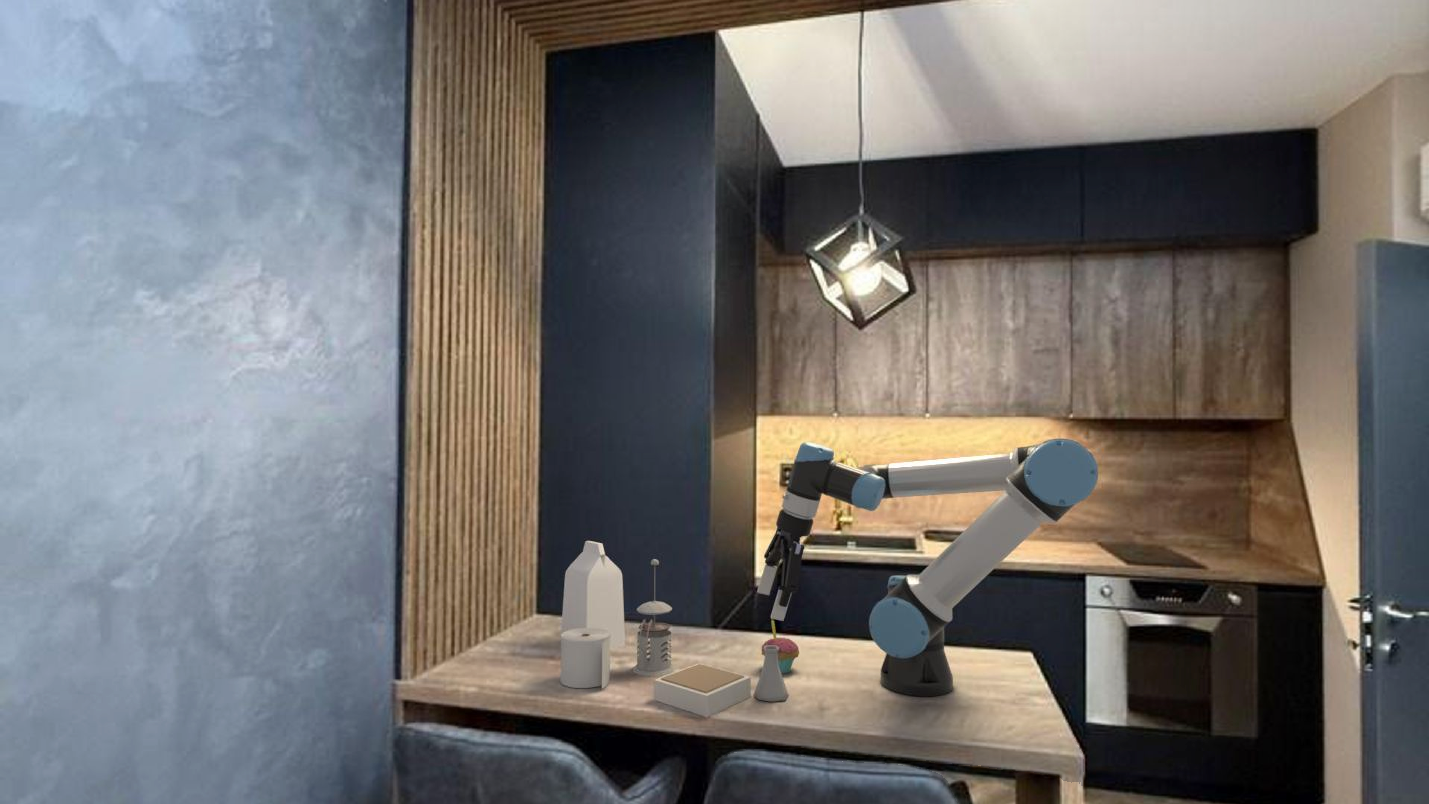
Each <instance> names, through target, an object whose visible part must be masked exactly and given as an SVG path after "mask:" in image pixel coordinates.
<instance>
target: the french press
mask: <svg viewBox="0 0 1429 804" xmlns="http://www.w3.org/2000/svg"><path fill="white" fill-rule="evenodd" d="M659 564H660V562H659V560H658V559H656V558H653V559H651V561H650V565H652V566H659ZM653 578H654V579H653V580H654V581H653V582H654V583H653V585H654V587H653V588H654V589H653V591H654V592H653V593H654V594H653V595H654V597H653V600H652V601H648V602H645V603H642V604H641V605H639V606H638V607H637V608H636V612H637V613H638V614H641V615H646V616H647V615H648V616H653V619H650V621H647V620H646V618H644V619H643V620H642V622H641V624H640V625H638V629H639V631H637V633H636V634H637V637H636V638H637V642H636V644H637V646H636V650H637V652H636V656H637V657H636V664H635V666H633V668H632V671H634V672H633V673H634V674H636V673H637V675H639V676H643V677H663V676H666V675H669V674H671V673H674V672H675V671H676V667H675V666H674V665H673V664H672V660H671V659H672V643H671V642H672V631H671V630H669V629H670V627H671V626H670V624H668V623H665V622H656V616H657V615H663V614H668V613H670V612H671V611H672V610H673V607H672V606H671V605H669V604H667V603H665V602H664V601H657V600H656V568H654V577H653ZM646 621H647V622H646ZM668 641H669V642H668ZM668 647H669V648H668ZM674 670H675V671H674Z"/></svg>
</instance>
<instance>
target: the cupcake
mask: <svg viewBox="0 0 1429 804" xmlns="http://www.w3.org/2000/svg"><path fill="white" fill-rule="evenodd" d="M770 619H771V621H770V623H771V629H772V630H771V631H772V636H773V638H769V639H768V640H765V641H764V643H763V644H761V655H762V656H764V657H765V651H764V649H763V647H764V646H769V645H772V646H777V647H779V650H778V663H779V668H780V671H781V674H786V673H789V672H790V671H792V670H791V669H792V666H793V663H794V660H795V659H796V658H798V657H799V655H800V650H799V646H798V645H797V643H795V642H794V641H793V640H791V639H790V638H786V637H777V632H776V626H775V625H776V624H775V621H774V619H772V618H771V617H770Z"/></svg>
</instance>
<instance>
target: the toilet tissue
mask: <svg viewBox="0 0 1429 804" xmlns="http://www.w3.org/2000/svg"><path fill="white" fill-rule="evenodd" d="M610 680H611V650H610V632H609V631H607V630H604V629H599V628H577V629H573V630H569V631H566V632H564V633H563V634H561V633H560V684H561V685H563V686H565V687H569V688H572V689H573V688H575V689H588V688H595V687H600V686H601V689H602V690H603V689H604V688H605V687H606V686H607V685H608V684H609V683H610Z"/></svg>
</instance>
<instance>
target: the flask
mask: <svg viewBox="0 0 1429 804" xmlns="http://www.w3.org/2000/svg"><path fill="white" fill-rule="evenodd" d="M763 649H764V651H765V656H764V660H763V666H762V669H761V672H760V675H759V678H758V682H757V683H756V686H755V689H754V692H753V696H754V697H755V698H756V699H757V700H758V701H764V702H779V701H780V702H781V701H786V699H788V698H789V692H788V689H787V686H786V684H785V681H784V678H783V675H782V674H783V673H781V671H780V668H779V663H778V650H779V647H777V646H772V645H769V646H764V647H763Z"/></svg>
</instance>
